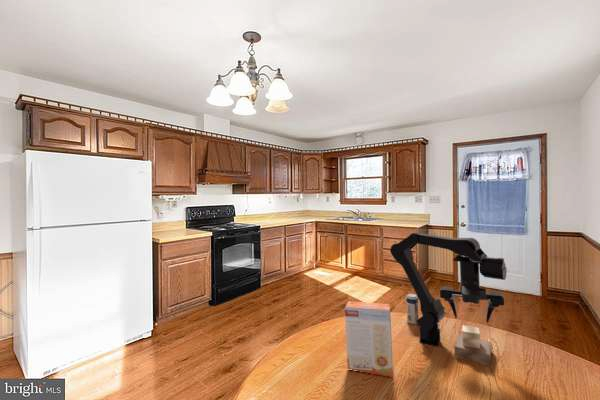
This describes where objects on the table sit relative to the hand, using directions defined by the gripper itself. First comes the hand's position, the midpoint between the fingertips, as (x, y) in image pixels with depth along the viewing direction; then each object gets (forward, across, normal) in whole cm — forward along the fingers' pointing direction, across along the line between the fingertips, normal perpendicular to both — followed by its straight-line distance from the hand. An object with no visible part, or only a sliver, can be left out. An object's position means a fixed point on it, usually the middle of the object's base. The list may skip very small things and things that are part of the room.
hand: (471, 319), depth 99 cm
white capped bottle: (+12, -22, +18) cm, 31 cm away
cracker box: (+12, -29, -24) cm, 40 cm away
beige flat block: (+12, 0, 0) cm, 12 cm away
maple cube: (+8, 0, 0) cm, 8 cm away
